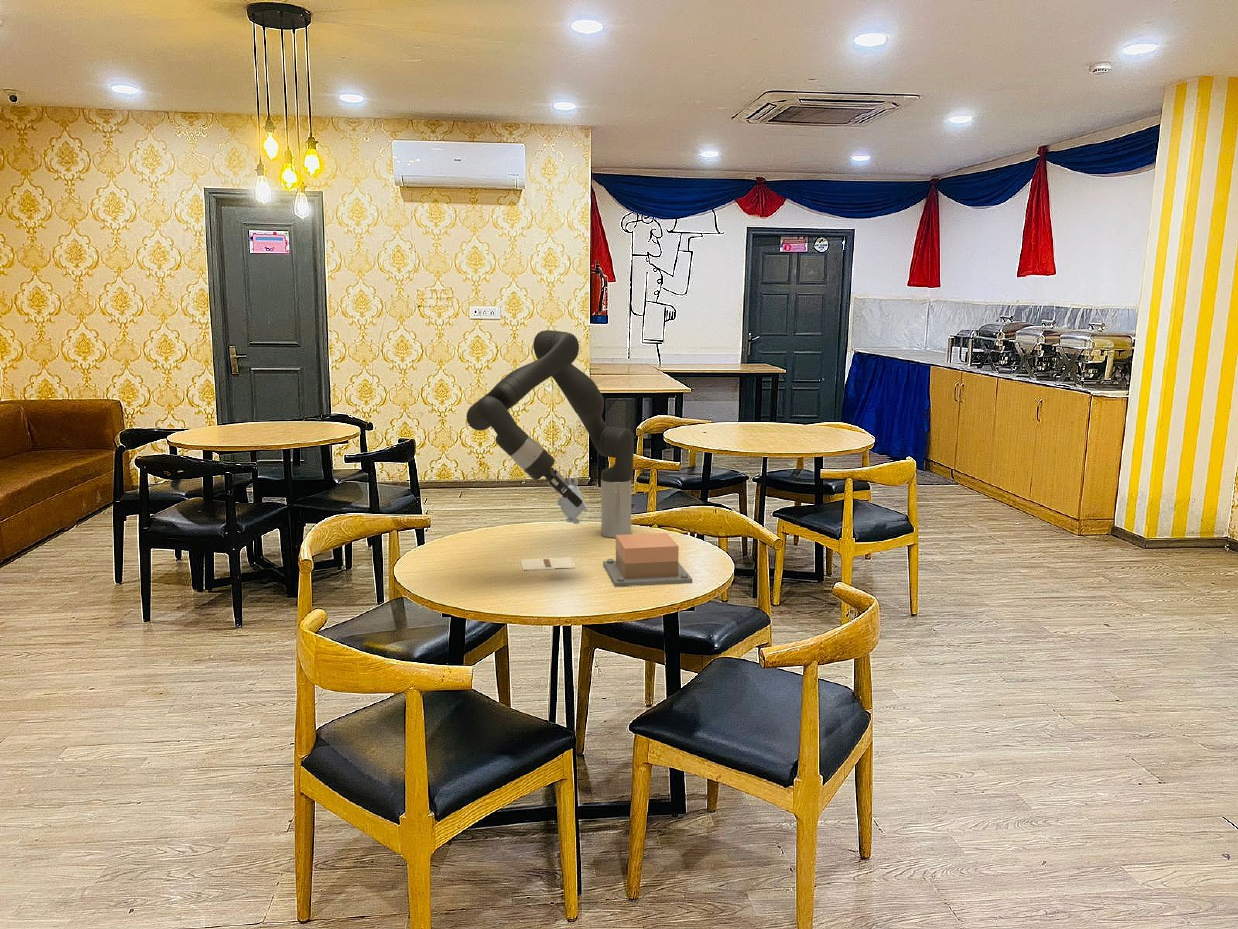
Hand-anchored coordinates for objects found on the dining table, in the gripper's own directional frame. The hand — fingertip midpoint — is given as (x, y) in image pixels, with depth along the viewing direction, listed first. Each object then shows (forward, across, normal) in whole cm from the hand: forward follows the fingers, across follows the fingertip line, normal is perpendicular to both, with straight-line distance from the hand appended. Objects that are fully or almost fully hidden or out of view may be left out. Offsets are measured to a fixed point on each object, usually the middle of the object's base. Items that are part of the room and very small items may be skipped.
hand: (578, 501), depth 238 cm
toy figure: (+3, 0, +5) cm, 6 cm away
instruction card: (+9, +12, +19) cm, 24 cm away
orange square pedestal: (+27, -1, +2) cm, 27 cm away
